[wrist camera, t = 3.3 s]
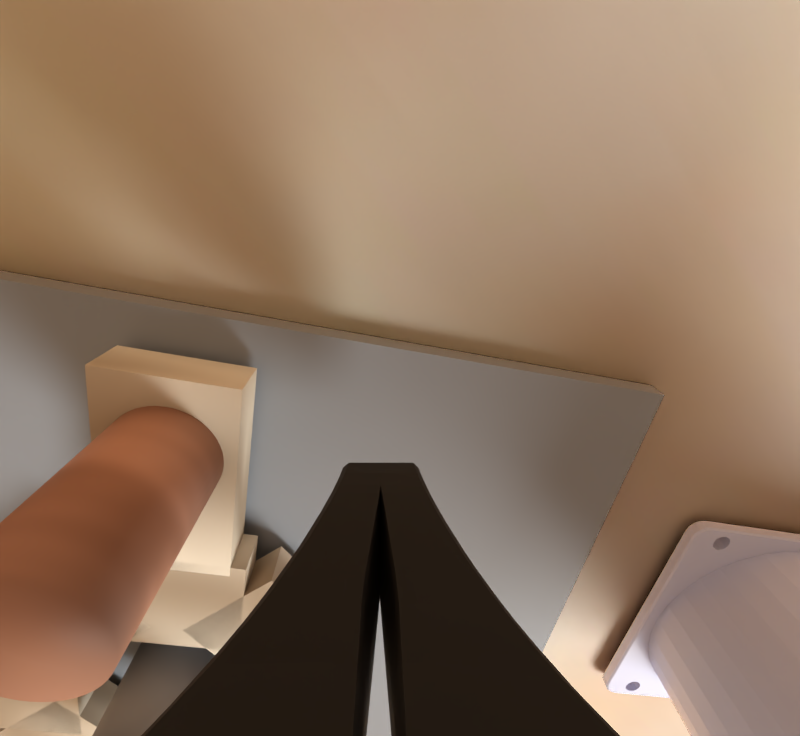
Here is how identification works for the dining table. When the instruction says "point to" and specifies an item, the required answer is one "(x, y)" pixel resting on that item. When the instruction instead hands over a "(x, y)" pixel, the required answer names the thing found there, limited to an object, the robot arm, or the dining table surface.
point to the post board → (336, 446)
